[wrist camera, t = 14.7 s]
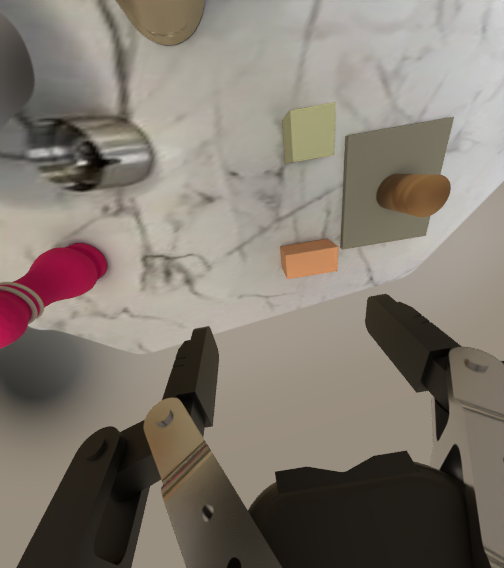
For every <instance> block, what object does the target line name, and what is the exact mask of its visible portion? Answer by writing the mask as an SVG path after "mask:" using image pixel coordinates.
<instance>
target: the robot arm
mask: <svg viewBox="0 0 504 568" xmlns="http://www.w3.org/2000/svg"><path fill="white" fill-rule="evenodd" d="M116 1H117V3H118V4H119V6H120V7H121V9H122V10H123V11H124V13H125V14H126V16H127V17H128V18H129V20H130V21H131V22H132V24H133V25H134V26H135V27H136V28H137V30H138V31H139V32H141V33H142V34H143V35H144V36H145V37H147V38H148V39H150V40H152V41H154V42H156V43H159V44H163V45H175V44H178V43H181V42H183V41H184V40H186V39H187V38H189V37H190V36H191V34H192V33H193V32H194V31H195V29H196V28H197V26H198V24H199V22H200V20H201V16H202V13H203V9H204V3H205V0H116ZM365 324H366V328H367V330H368V332H369V334H370V335H371V336H372V337H373V339H374V340H375V341H376V342H377V344H378V345H379V346H380V347H381V349H382V350H383V351H384V352H385V354H386V355H387V356H388V357H389V359H390V360H391V361H392V362H393V363H394V365H395V366H396V367H397V369H398V370H399V371H400V372H401V374H402V375H403V376H404V377H405V379H406V380H407V381H408V382H409V384H410V385H411V386H412V387H413V389H414V390H415V391H416V392H423V391H429V392H430V393H431V394H432V395H433V397H432V400H431V405H432V436H433V449H432V455H431V461H430V466H428V465H425V464H420V463H417V462H413V461H412V459H411V457H410V456H409V454H408V452H407V451H401V452H395V453H389V454H383V455H377V456H373V457H371V458H369V459H368V460H366V461H364V462H362V463H360V464H359V465H357V466H355V467H353V468H352V469H350V470H348V471H346V472H337V471H330V470H324V469H317V468H312V467H302V468H296V469H290V470H283V471H277V472H275V475H276V482H275V483H273V484H272V485H270V486H269V487H268V488H266V489H265V490H264V491H263V492H262V493H261V494H260V495H259V496H258V497H257V498H256V500H255V501H254V502H253V504H252V505H251V506H250V508H249V510H248V511H247V509H246V507H245V506H244V504H243V502H242V501H241V499H240V497H239V496H238V494H237V492H236V491H235V489H234V487H233V486H232V484H231V483H230V481H229V479H228V478H227V476H226V475H225V473H224V471H223V469H222V468H221V466H220V465H219V463H218V461H217V460H216V458H215V456H214V455H213V453H212V451H211V450H210V448H209V446H208V445H207V444H206V442H205V440H204V439H203V435H204V428H205V427H211V426H213V416H214V407H215V396H216V386H217V385H216V384H217V375H218V364H219V353H218V348H217V345H216V342H215V340H214V337H213V334H212V331H211V329H210V327H209V326H207V327H202V328H197V329H194V330H193V333H192V336H191V340H188V341H185V342H184V343H183V344H182V346H181V347H180V348H179V349H178V353H177V355H176V360H175V362H174V365H173V369H172V371H171V374H170V377H169V380H168V383H167V386H166V389H165V393H164V396H163V399H162V401H160V402H159V403H158V404H156V405H155V406H154V407H153V408H152V409H151V410H150V411H149V413H148V414H147V416H146V418H145V420H143V421H141V422H140V423H138V424H136V425H133V426H132V427H129V428H127V429H126V430H123V431H122V432H119V431H118V430H117V429H116V428H115V427H111V426H110V427H105V428H102V429H100V430H98V431H97V432H95V433H94V434H92V435H91V436H90V437H89V438H88V439H86V441H84V443H83V444H82V445H81V446H80V448H79V449H78V451H77V452H76V454H75V456H74V458H73V460H72V462H71V464H70V466H69V468H68V469H67V471H66V473H65V475H64V477H63V479H62V481H61V483H60V485H59V487H58V489H57V491H56V492H55V494H54V496H53V498H52V500H51V502H50V504H49V506H48V508H47V510H46V512H45V514H44V516H43V518H42V519H41V521H40V523H39V525H38V527H37V529H36V531H35V533H34V535H33V537H32V539H31V541H30V542H29V545H28V546H27V548H26V550H25V552H24V554H23V556H22V558H21V560H20V562H19V564H18V566H17V568H131V566H132V562H133V557H134V553H135V549H136V545H137V540H138V536H139V532H140V527H141V523H142V518H143V514H144V510H145V505H146V501H147V497H148V493H149V488H150V486H151V485H153V484H154V483H156V482H158V481H159V480H161V479H162V483H163V487H162V488H161V493H162V497H163V500H164V503H165V506H166V509H167V512H168V515H169V518H170V521H171V523H172V527H173V530H174V533H175V535H176V538H177V541H178V544H179V547H180V550H181V553H182V556H183V558H184V562H185V565H186V567H187V568H504V361H500V360H498V359H497V358H496V357H494V356H492V355H490V354H489V353H487V352H484V351H482V350H479V349H475V348H471V347H462V346H460V345H459V344H458V343H456V342H455V341H454V340H453V339H452V338H450V337H449V336H448V335H446V334H445V333H444V332H443V331H441V330H440V329H439V328H438V327H436V326H435V325H434V324H433V323H430V322H429V320H428V319H426V318H425V317H424V316H422V315H421V314H420V313H419V312H418V311H416V310H415V309H414V308H412V307H410V306H408V305H406V304H403V303H401V302H396V301H395V300H394V299H392V298H391V297H390V296H389V295H387V294H382V295H377V296H371V297H369V298H368V300H367V308H366V319H365Z"/></svg>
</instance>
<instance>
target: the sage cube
mask: <svg viewBox="0 0 504 568" xmlns="http://www.w3.org/2000/svg"><path fill="white" fill-rule="evenodd" d="M282 128H283V142H284V156H285V164H286V163H292V162H298V161H303V160H309V159H315V158H320V157H326V156H331V155H334V142H335V102H334V103H329V104H323V105H318V106H312V107H306V108H301V109H295V110H290V111H289V113H288V114H287V115H286V116H285V117H284V118H283V120H282Z"/></svg>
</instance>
